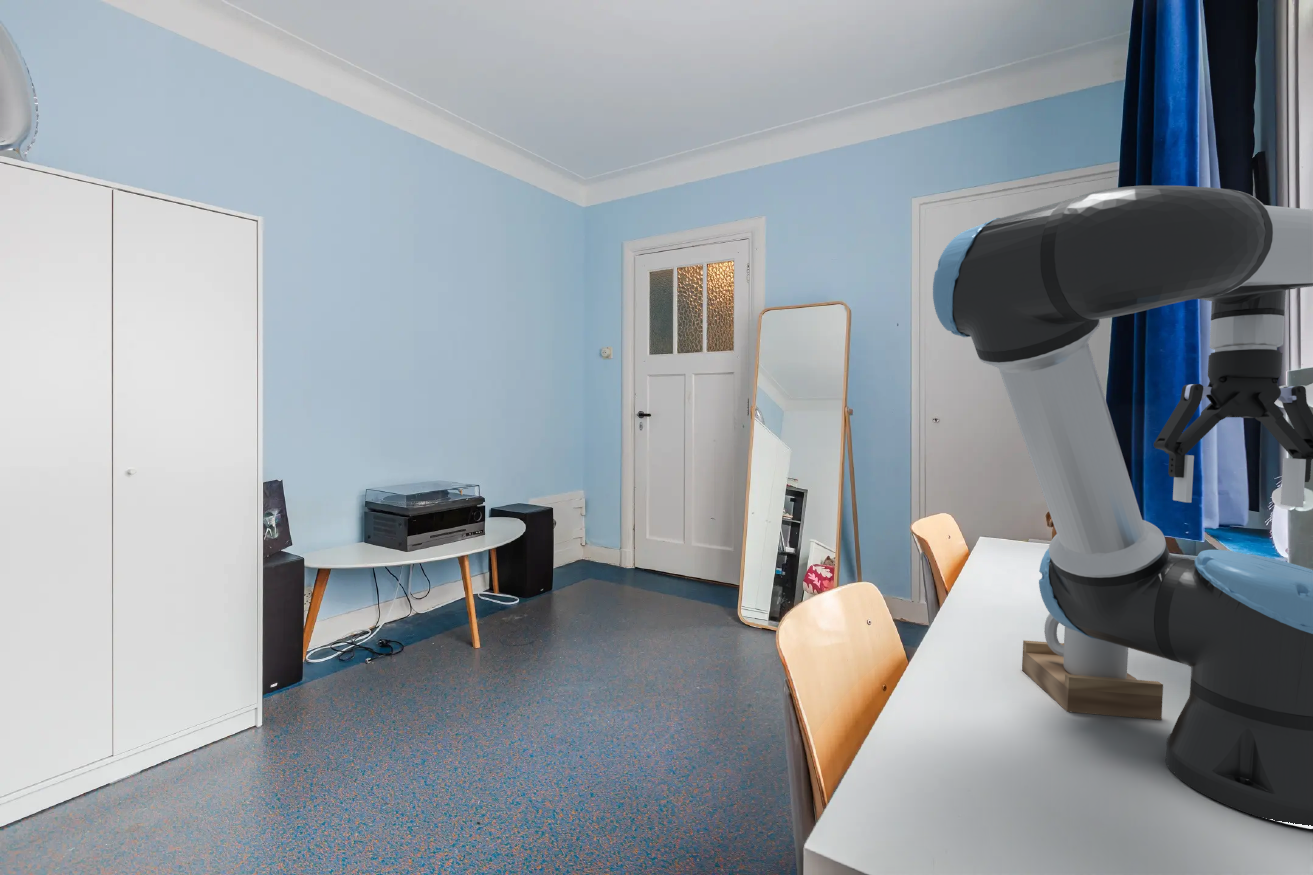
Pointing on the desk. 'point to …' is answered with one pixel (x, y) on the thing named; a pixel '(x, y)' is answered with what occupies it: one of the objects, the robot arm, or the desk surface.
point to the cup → (1087, 653)
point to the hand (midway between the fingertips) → (1236, 503)
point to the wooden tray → (1090, 687)
